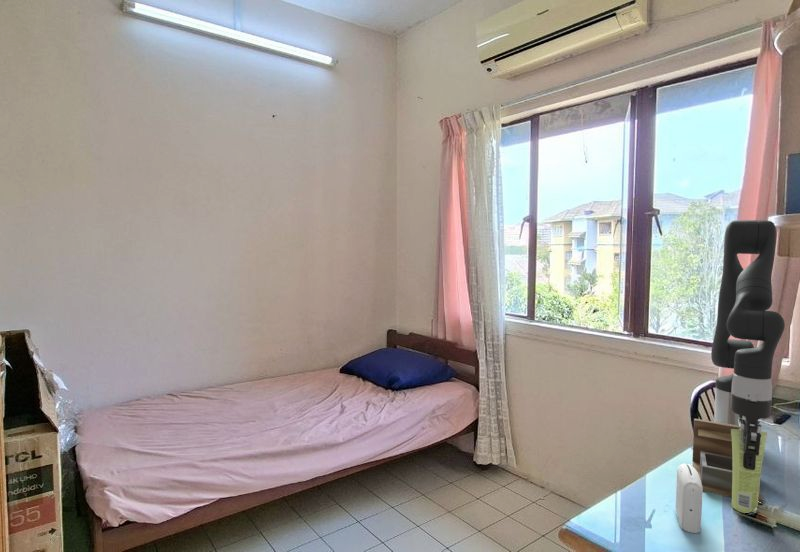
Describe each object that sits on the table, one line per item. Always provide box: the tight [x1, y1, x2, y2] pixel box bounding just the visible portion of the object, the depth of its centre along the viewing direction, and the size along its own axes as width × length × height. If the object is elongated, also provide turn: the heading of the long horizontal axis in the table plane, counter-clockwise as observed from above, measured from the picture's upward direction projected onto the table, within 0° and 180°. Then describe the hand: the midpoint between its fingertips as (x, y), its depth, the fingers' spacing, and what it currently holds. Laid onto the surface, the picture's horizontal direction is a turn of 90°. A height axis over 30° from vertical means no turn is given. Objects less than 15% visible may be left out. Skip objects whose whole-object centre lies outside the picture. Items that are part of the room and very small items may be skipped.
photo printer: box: [675, 463, 703, 534], centre depth 105 cm, size 10×4×12 cm, turn 156°
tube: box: [731, 429, 768, 514], centre depth 109 cm, size 6×5×20 cm
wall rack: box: [692, 418, 764, 504], centre depth 122 cm, size 17×14×13 cm
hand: (747, 464), depth 108 cm, fingers closed on tube, 4 cm apart
